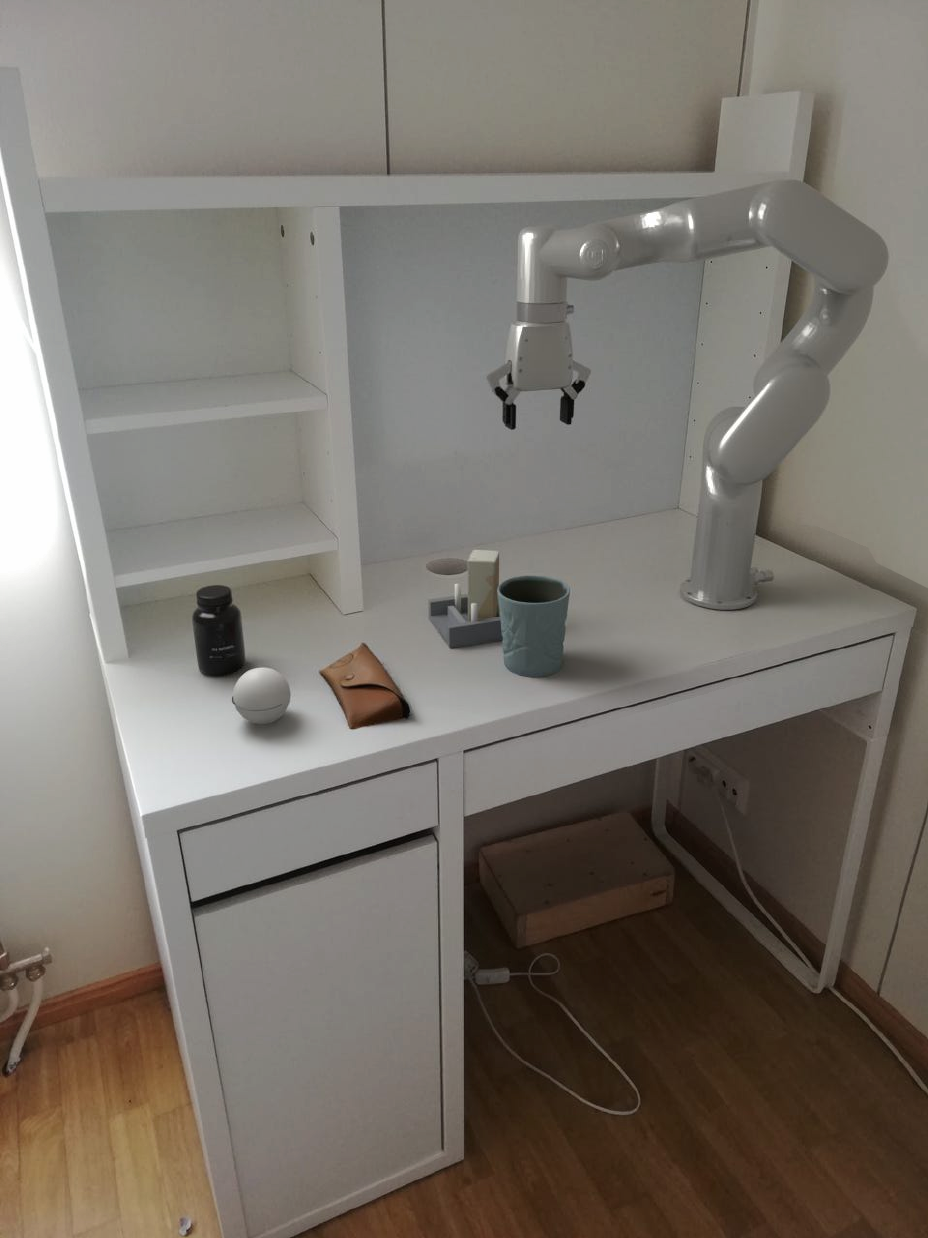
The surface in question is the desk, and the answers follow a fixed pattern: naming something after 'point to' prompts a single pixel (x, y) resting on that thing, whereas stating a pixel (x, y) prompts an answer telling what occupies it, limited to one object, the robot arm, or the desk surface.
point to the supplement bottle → (218, 632)
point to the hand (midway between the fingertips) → (538, 425)
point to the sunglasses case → (365, 689)
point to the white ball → (261, 695)
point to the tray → (462, 621)
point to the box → (483, 583)
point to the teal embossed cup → (533, 624)
